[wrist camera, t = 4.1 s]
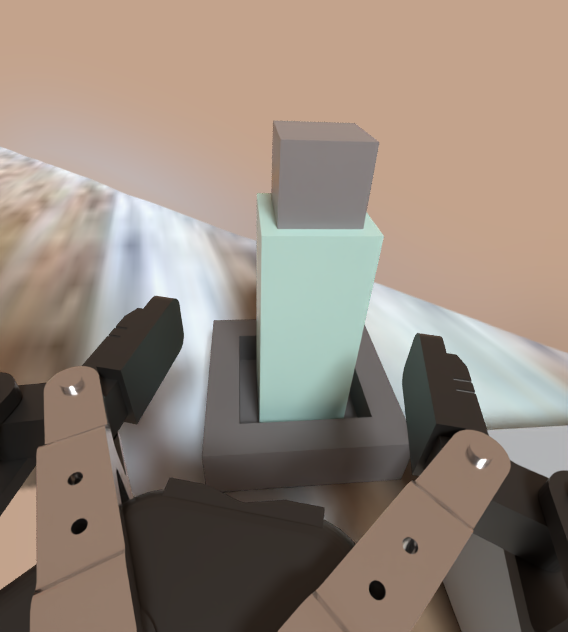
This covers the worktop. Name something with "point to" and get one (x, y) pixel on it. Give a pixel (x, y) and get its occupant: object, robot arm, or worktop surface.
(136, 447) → the worktop surface
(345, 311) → the plug
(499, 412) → the worktop surface
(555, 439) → the grey divided tray
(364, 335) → the grey square tray
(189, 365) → the worktop surface
